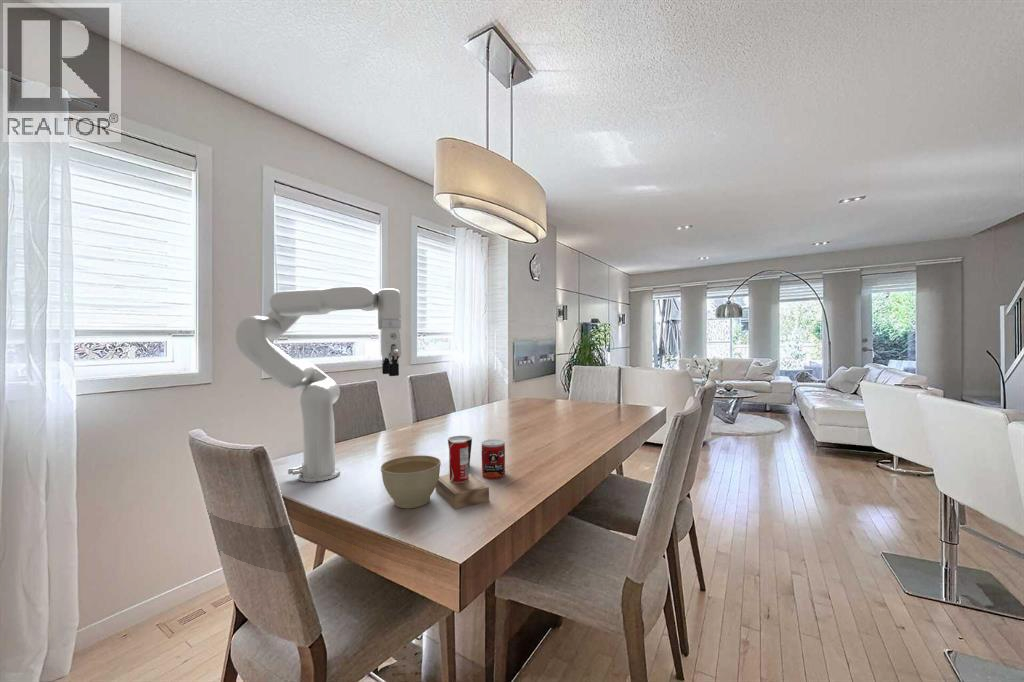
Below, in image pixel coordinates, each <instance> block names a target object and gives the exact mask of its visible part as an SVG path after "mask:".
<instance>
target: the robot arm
mask: <svg viewBox="0 0 1024 682" xmlns="http://www.w3.org/2000/svg"><path fill="white" fill-rule="evenodd" d="M401 303H402V302H401V292H400V289H396V288H381V289H379V290H376V289H371V288H370V287H368V286H364V285H352V286H351V285H349V286H336V287H329V288H328V287H325V288H315V289H313V288H312V289H294V290H291V289H289V290H280V291H277V292H274V293H272V295H271V296H270V299H269V307H270V309H271V310H270V311H269V312H268V313H267V314H266V315H265V316H263V315H250V316H246V317H244V318H243V319H242V320H241V321H239V323H238V325H237V327H236V330H235V343H236V345H237V348H238V350H239V351H240V353H241V354H242V355H243V356H244V357H245V358H246V359H248V360H249V361H250V362H251V363H252V364H254V365H255V366H256V367H258V368H259V369H260V370H262V372H264V373H265V374H266V375H268V376H269V377H270V378H272V379H273V380H274V381H275V382H276V383H278V385H280V386H281V387H283V389H287V390H300V391H301V394H300V399H299V400H300V401H299V402H300V403H299V404H300V410H301V417H302V436H303V439H302V442H303V447H302V448H303V449H302V451H303V462H302V464H301V465H299V466H296V467H288V468H287V474H288V475H292V476H294V475H298V480H299V481H300V480H301V482H303V481H305V483H316V481H319V482H323V481H324V480H325V481H327V480H328V479H329V480H332V479H334V477H335V478H337V477H338V476H339V475H340V474H341V469H340V468H338V467H336V454H335V453H336V448H335V445H336V444H335V442H336V441H335V440H336V439H335V415H334V408H333V405H334V404H335V403H336V402H338V400H339V398H340V394H341V389H340V387H339V385H338V383H336V382H335V380H333V379H332V378H331V377H330V376H329V375H327V374H326V373H325V372H323V371H322V370H321V369H320V368H318V367H317V366H316V365H314V364H313V363H311V362H309V361H307V360H303V359H294V358H292V357H291V356H289V355H288V354H287V353H286V352H285V351H283V350H282V349H281V348H280V347H278V346H276V345H275V344H273V343H272V342H274V341H276V340H278V339H279V338H280V337H282V336H283V335H284V334H285V333H286V332H287V331H288V330H289V329H290V328H291V327H292V326H293V325H294V324H295V323H296V322H297V321H298V320H299V319H300V318H301V317H302V316H315V315H318V316H319V315H327V314H328V313H331V312H336V311H347V310H361V311H365V312H371V311H377V325H378V326H377V327H378V328H377V329H378V330H380V332H381V333H380V352H381V353H380V354H381V357H382V360H381V361H382V363H381V364H382V365H381V367H382V371H381V372H382V375H388V376H389V377H396V376H399V375H400V370H399V369H400V365H399V363H400V362H399V361H400V360H399V359H400V358H401V357H402V344H401V332H400V330H402V313H401V306H402V305H401ZM336 476H337V477H336ZM325 481H324V482H325Z"/></svg>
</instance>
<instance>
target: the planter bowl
mask: <svg viewBox="0 0 1024 682" xmlns="http://www.w3.org/2000/svg"><path fill="white" fill-rule="evenodd" d="M441 462H442V461H441V459H439V458H438V457H436V456H433V455H425V454H424V455H422V454H421V455H420V454H419V455H417V454H416V455H407V456H401V457H396V458H392V459H389V460H387V461H385V462H383V463H382V464H381V466H380V472H381V476H382V477H381V478H382V482H383V485H384V488H385V490H386V492H387V494H388V495H389V497H390V498H391V499H392V500H393V502H394V505H395V506H396V507H398V508H400V509H413V508H415V509H416V508H418V507H421V506H424V505H427V504H428V503H429V501H430V499H431V495H432V494H433V492H434V491H435V490H436V485H437V482H438V479H439V476H440V473H441V469H440V468H441V465H442V464H441Z"/></svg>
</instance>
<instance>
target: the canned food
mask: <svg viewBox="0 0 1024 682" xmlns="http://www.w3.org/2000/svg"><path fill="white" fill-rule="evenodd" d="M505 443H506V442H505V441H504V440H502V439H497V438H496V439H495V438H494V439H486V440H483V441H482V442H481V474H482V477H484V478H485V479H487V478H488V479H489V480H497V479H496V478H498V479H500V478H503V477H504V476H505V475H506V450H505V449H506V446H505V445H506V444H505Z"/></svg>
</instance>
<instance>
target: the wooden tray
mask: <svg viewBox="0 0 1024 682" xmlns="http://www.w3.org/2000/svg"><path fill="white" fill-rule="evenodd" d="M435 491H436V492H437V494H439V495H440V496H441V497H442V498H443V499H444V500H445V501H446V502H447V503H448V504H450V506H451V507H452V508H454V509H455V510H458V509H462V508H465V507H467V508H468V507H470V506H475V505H479V504H480V505H481V504H482V503H488V501H489V502H490V487H489V486H488V485H487V484H485V483H484V482H483V481H481V480H480V479H478V478H477V477H476V476H473V474H471V473H469V479H468V480H467V481H466V482H463V483H453V482H451V481H450V473H449V474H445V475H439V479H438V482H437V485H436V487H435Z"/></svg>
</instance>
